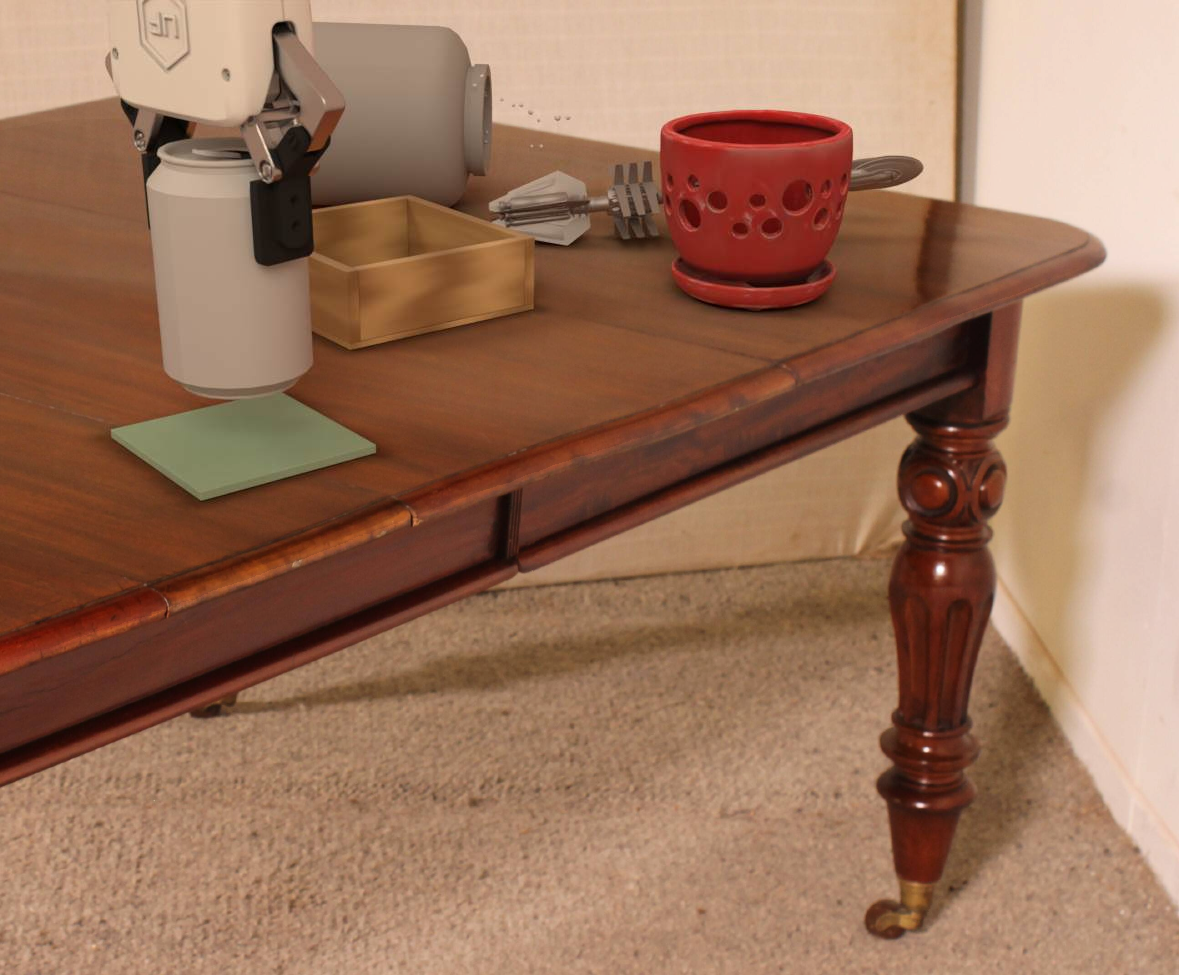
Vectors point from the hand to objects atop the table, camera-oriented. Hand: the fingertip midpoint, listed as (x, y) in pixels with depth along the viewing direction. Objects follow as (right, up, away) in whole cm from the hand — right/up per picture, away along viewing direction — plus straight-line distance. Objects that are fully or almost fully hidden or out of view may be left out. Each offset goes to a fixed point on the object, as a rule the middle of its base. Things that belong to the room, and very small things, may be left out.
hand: (229, 241), depth 74 cm
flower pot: (+29, +2, +33) cm, 44 cm away
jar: (+4, +12, +55) cm, 56 cm away
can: (0, -7, +3) cm, 7 cm away
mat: (0, -10, +4) cm, 11 cm away
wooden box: (+4, +1, +28) cm, 28 cm away
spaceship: (+27, +7, +46) cm, 54 cm away
